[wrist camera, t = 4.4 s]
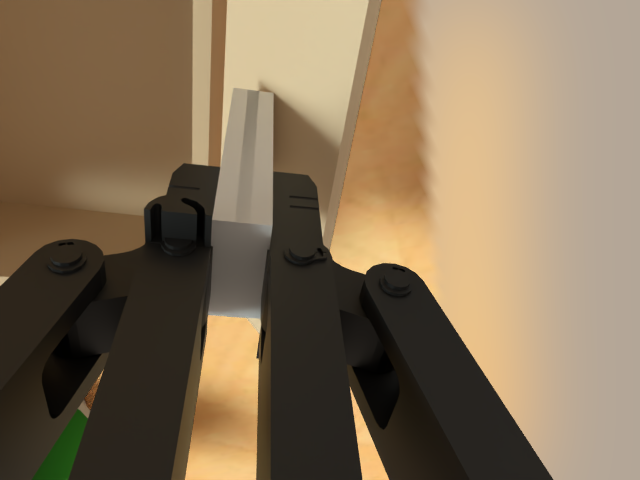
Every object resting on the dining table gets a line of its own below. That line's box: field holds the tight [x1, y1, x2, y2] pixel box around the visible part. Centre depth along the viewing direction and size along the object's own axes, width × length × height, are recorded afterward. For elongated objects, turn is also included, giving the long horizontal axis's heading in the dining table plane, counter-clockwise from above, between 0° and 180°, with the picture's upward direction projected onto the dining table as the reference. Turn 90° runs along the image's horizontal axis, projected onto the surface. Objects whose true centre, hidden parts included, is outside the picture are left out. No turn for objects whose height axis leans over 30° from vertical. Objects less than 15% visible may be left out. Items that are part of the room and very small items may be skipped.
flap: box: [220, 0, 382, 334], centre depth 16 cm, size 18×1×6 cm
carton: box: [0, 0, 227, 286], centre depth 20 cm, size 23×13×6 cm, turn 171°
